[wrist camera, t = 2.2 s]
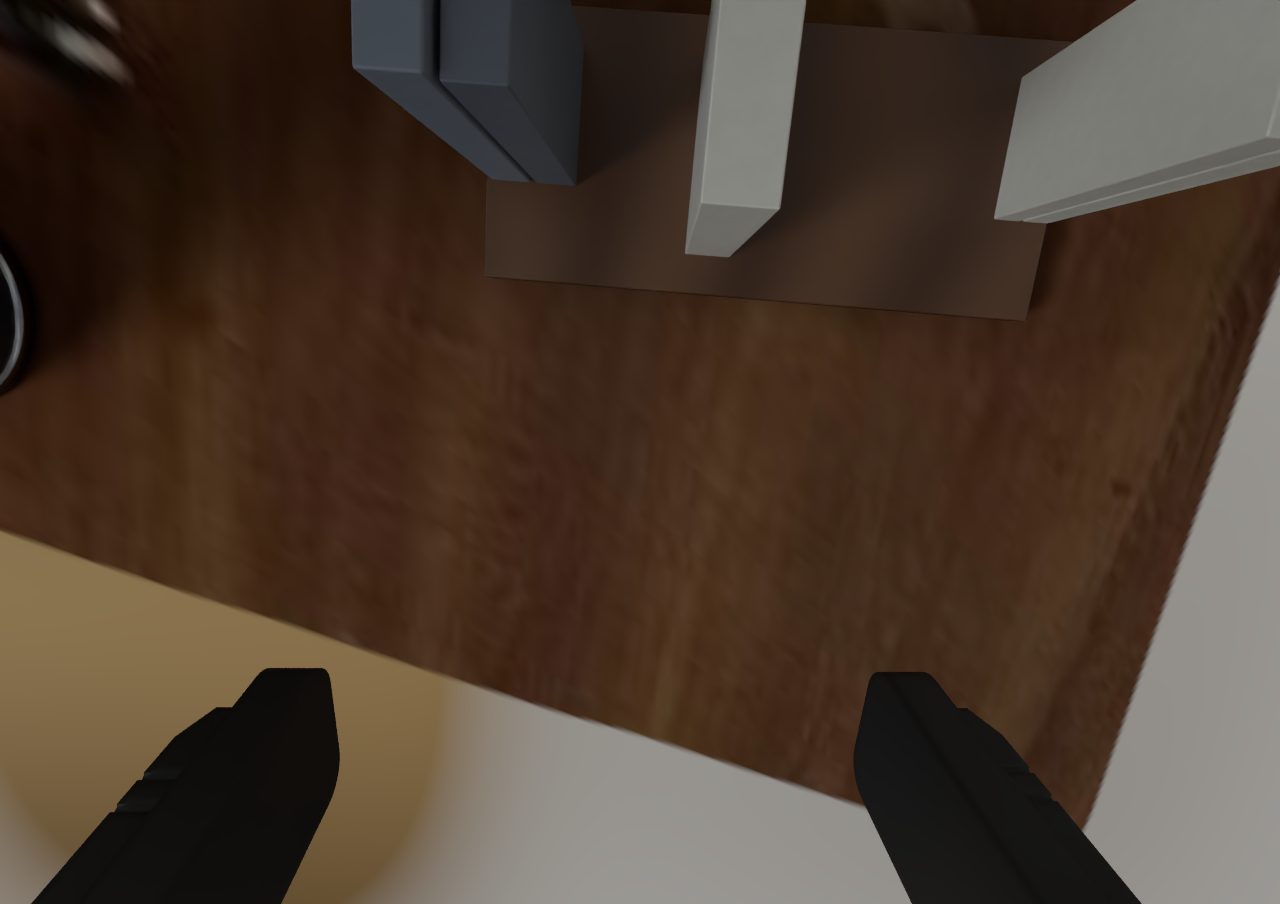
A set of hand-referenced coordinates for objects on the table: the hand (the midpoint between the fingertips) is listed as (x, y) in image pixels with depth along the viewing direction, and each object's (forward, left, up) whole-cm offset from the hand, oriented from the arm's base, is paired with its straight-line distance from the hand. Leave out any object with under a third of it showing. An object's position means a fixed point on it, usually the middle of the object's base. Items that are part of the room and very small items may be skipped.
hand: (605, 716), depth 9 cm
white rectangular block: (+2, +12, -18) cm, 21 cm away
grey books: (-5, +13, -18) cm, 23 cm away
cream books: (+14, +13, -18) cm, 26 cm away
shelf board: (+4, +12, -19) cm, 23 cm away
